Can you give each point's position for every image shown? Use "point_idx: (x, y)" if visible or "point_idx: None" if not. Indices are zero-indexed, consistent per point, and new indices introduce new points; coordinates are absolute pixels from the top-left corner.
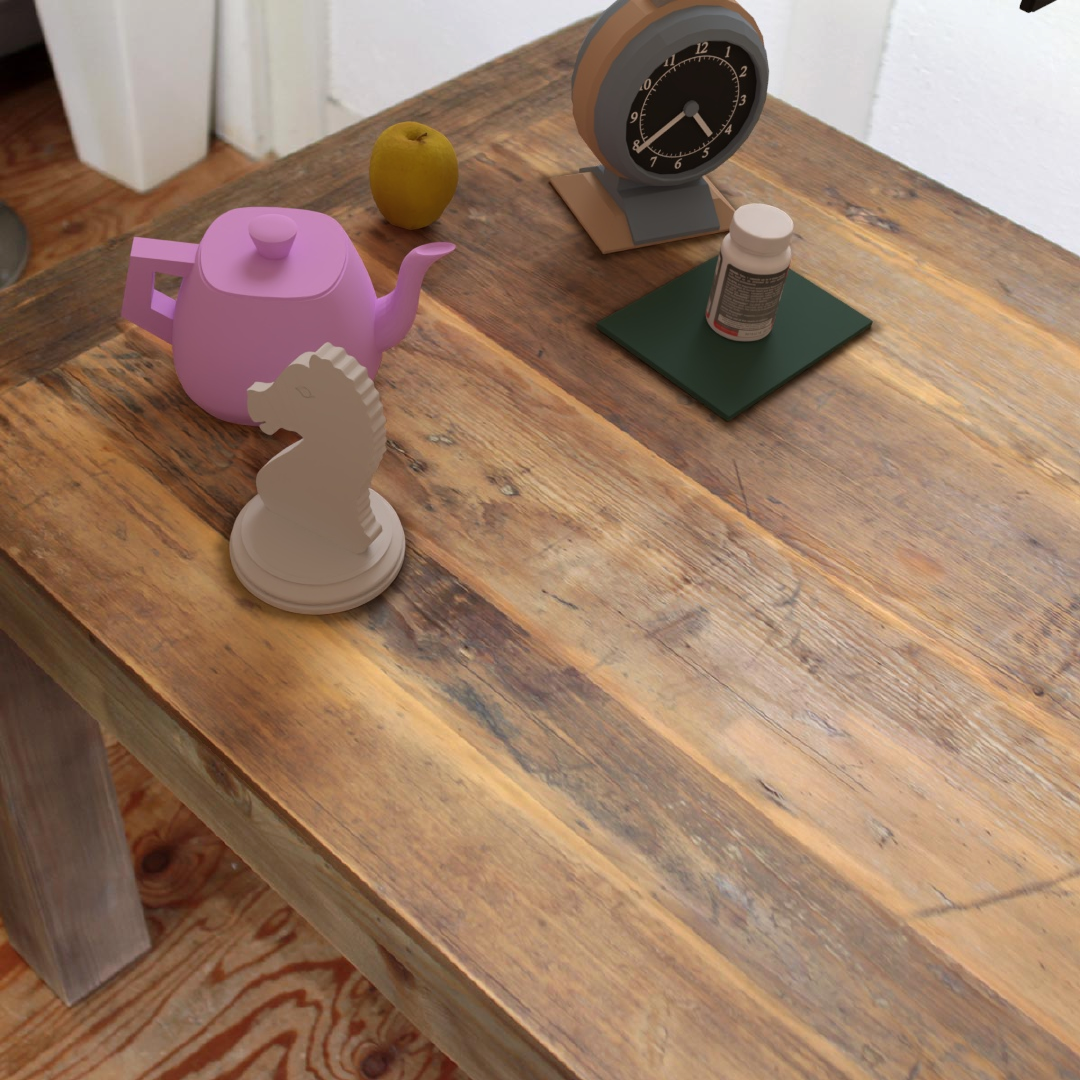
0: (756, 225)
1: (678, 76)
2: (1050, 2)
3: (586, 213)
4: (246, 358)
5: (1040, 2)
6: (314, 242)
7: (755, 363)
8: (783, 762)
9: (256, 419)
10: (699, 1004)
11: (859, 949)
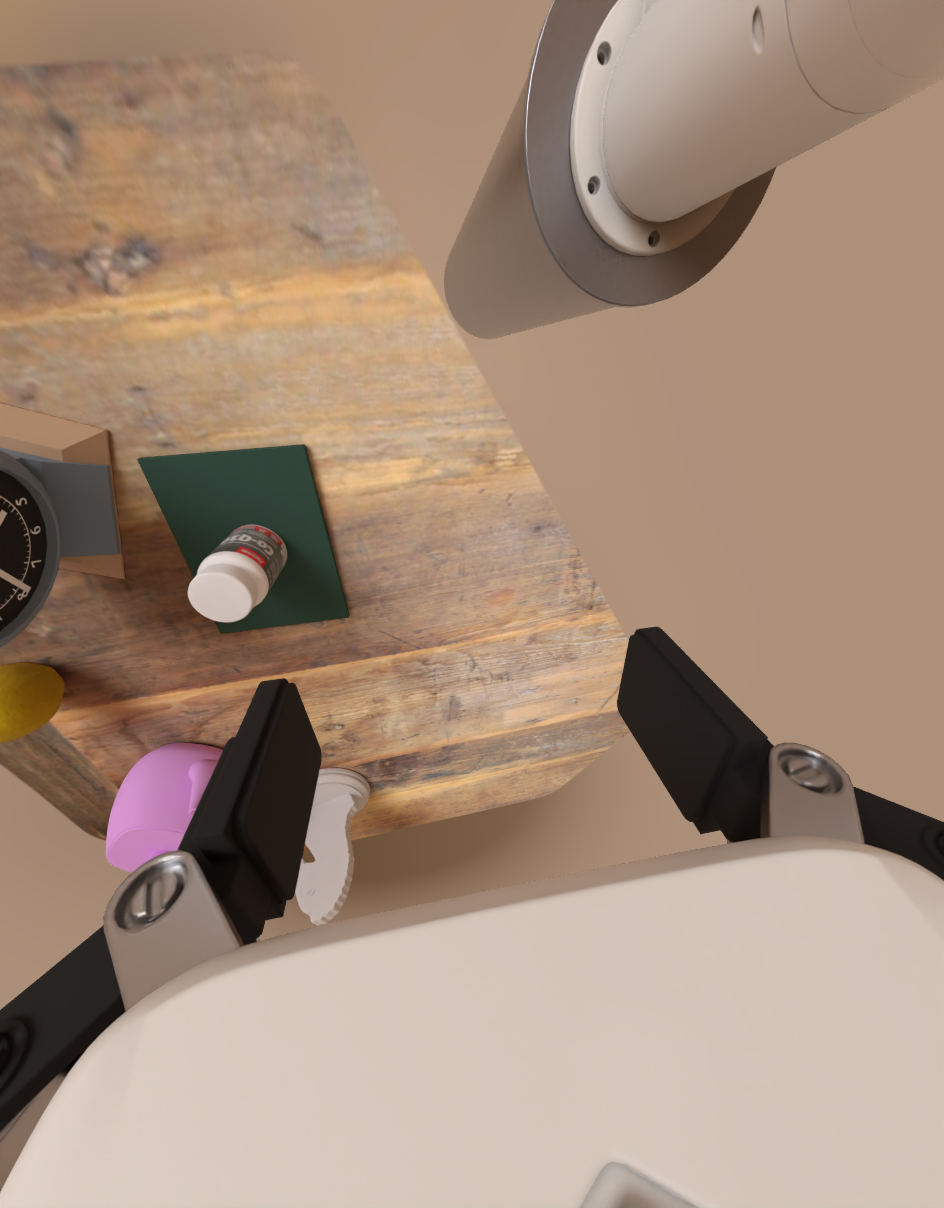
0: (226, 608)
1: None
2: (302, 707)
3: (59, 566)
4: None
5: (312, 749)
6: (160, 841)
7: (309, 570)
8: (529, 711)
9: None
10: (563, 768)
11: (591, 728)
